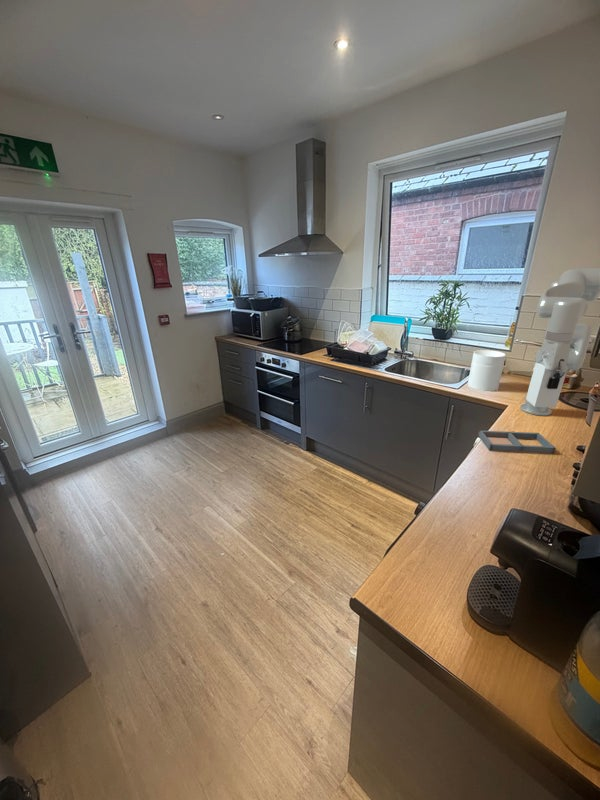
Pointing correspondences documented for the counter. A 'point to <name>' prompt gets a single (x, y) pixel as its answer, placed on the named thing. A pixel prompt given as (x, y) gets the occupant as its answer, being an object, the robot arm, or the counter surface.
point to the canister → (486, 370)
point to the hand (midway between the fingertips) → (545, 384)
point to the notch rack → (514, 442)
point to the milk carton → (543, 387)
